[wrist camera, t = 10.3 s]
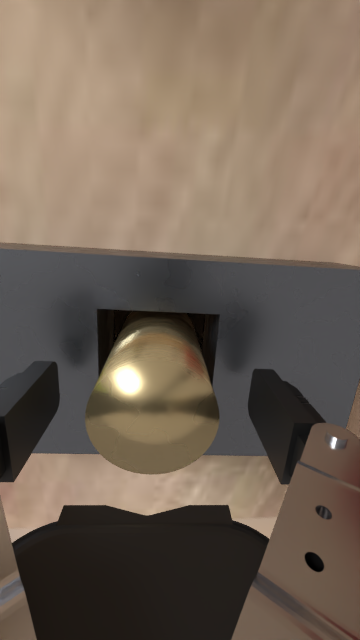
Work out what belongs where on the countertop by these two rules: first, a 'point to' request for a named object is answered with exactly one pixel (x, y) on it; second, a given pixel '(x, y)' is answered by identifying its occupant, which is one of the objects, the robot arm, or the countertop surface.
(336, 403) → the jig
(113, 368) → the gold cylinder
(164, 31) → the countertop surface
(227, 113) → the countertop surface
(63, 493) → the countertop surface
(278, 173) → the countertop surface
